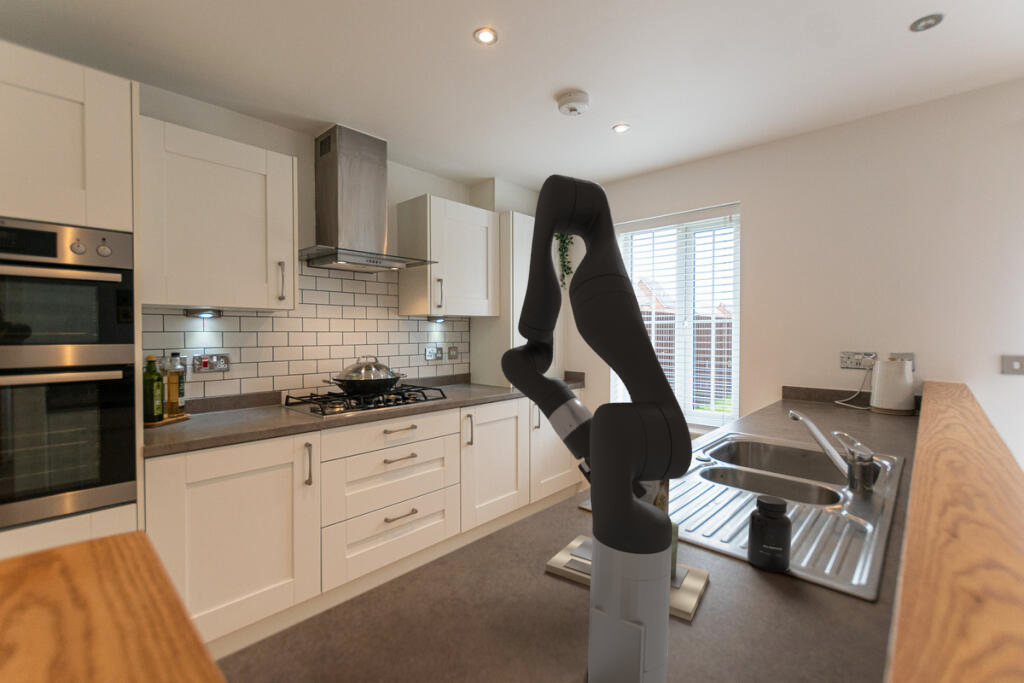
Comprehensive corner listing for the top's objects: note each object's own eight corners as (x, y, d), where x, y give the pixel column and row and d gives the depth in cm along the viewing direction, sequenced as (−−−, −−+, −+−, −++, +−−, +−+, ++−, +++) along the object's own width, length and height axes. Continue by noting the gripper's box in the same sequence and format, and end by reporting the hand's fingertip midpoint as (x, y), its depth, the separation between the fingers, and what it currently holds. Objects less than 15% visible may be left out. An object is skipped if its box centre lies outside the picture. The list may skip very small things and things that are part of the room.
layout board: (690, 621, 67) (691, 611, 67) (545, 570, 80) (545, 562, 80) (708, 578, 79) (709, 570, 79) (579, 540, 92) (579, 533, 92)
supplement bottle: (767, 576, 80) (770, 507, 80) (738, 557, 87) (741, 493, 87) (799, 571, 82) (802, 504, 82) (768, 553, 89) (771, 491, 89)
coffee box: (642, 511, 108) (644, 442, 108) (669, 518, 104) (671, 447, 104) (624, 523, 101) (627, 449, 101) (653, 531, 97) (655, 455, 97)
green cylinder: (672, 581, 75) (675, 532, 75) (645, 572, 77) (648, 525, 77) (678, 570, 79) (681, 523, 79) (652, 562, 81) (654, 517, 81)
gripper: (574, 421, 79) (638, 503, 73) (606, 410, 91) (663, 480, 85) (546, 447, 82) (605, 527, 76) (580, 433, 94) (633, 502, 88)
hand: (635, 502), depth 81 cm, fingers open, 8 cm apart
